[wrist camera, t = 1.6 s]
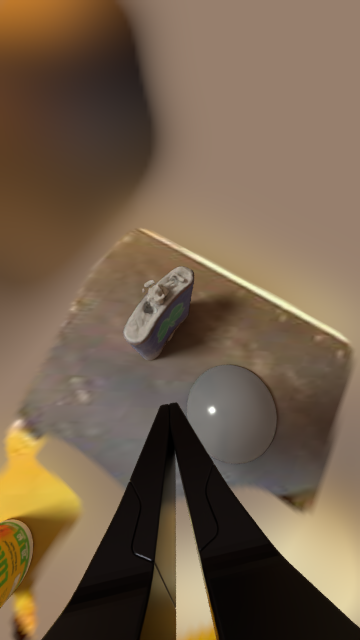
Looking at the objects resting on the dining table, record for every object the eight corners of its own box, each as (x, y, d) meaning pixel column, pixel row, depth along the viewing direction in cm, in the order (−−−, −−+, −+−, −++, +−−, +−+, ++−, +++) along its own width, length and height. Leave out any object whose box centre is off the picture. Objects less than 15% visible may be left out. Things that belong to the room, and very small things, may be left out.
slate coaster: (292, 434, 21) (295, 435, 20) (212, 480, 19) (213, 483, 19) (244, 352, 24) (246, 351, 23) (173, 386, 22) (172, 386, 22)
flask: (152, 364, 23) (132, 344, 13) (134, 351, 24) (102, 322, 14) (193, 310, 26) (202, 259, 16) (176, 299, 27) (174, 243, 17)
